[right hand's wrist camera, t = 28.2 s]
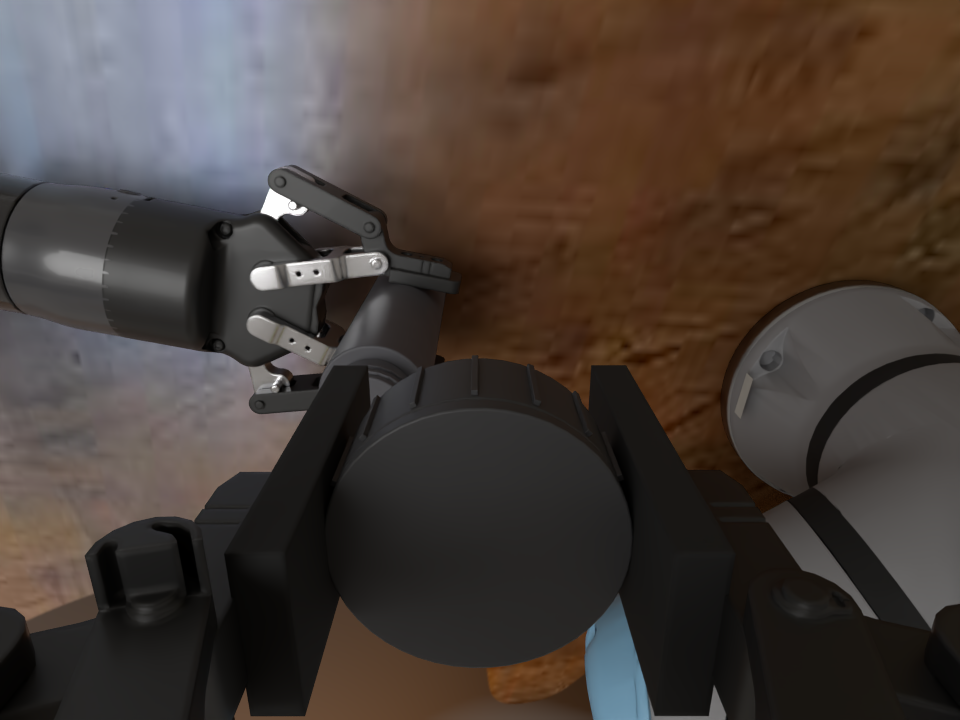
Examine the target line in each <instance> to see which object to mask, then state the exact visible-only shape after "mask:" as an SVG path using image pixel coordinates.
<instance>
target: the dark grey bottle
mask: <svg viewBox="0 0 960 720" xmlns="http://www.w3.org/2000/svg"><path fill="white" fill-rule="evenodd" d="M388 280H389V276H384V275H379V276H378V278H377V280H376V281H375V283H374V285H373V287H372V288H371V290H370V292H369V294H368V295H367V297H366V299H365V300H364V302H363V304H362V306H361V307H360V309H359V311H358V313H357V314H356V316H355V318H354V319H353V321H352V323H351V325H350V326H349V328H348V330H347V332H346V333H345V335H344V337H343V339H342V340H341V342H340V344H339V345H338V347H337V349H336V351H335V352H334V354H333V356H332V358H331V359H330V361H329V363H328V364H327V366H326V368H325V370H324V372H323V374H322V376H321V379H320V383H319V390H320V388H321V386H322V384H323V383H324V381H325V379H326V378H327V376H328V374H329V372H330V371H331V369H332V367H333V366H334V365H368V371H369V386H370V402H371V404H372V402H373V399H374V398H375V397H376V396H377V395H378V396H379V397H381V396H382V395H383V394H384V393H385V392H386V391H388V390H389V389H390V388H392V387H393V386H394V385H395V384H397V383H398V382H400V381H401V380H403V379H405V378H406V377H408V376H410V375H412V374H413V373H416V371H417V368H419V367H421V366H423V368H424V369H425V368H428V367H430V366H433V365H434V364H435V357H436V351H437V345H438V339H439V333H440V326H441V320H442V314H443V308H444V302H445V295H446V293H444V292H438V291H433V290H428V289H423V288H418V287H412V286H408V285H403V284H397V283H392V282H388Z"/></svg>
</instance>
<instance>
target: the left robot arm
mask: <svg viewBox="0 0 960 720" xmlns="http://www.w3.org/2000/svg"><path fill="white" fill-rule="evenodd" d="M268 184H269V187H270V190H269V193H268V195H267V198H266V200H265V203H264V205H263V207H262V210H260V211H257V212H254V213H251V214H245V215H238V214H233V213H228V212H223V211H217V210H212V209H207V208H202V207H197V206H192V205H187V204H182V203H177V202H172V201H167V200H162V199H157V198H152V197H147V196H143V195H141V194H140V193H136V192H131V191H126V190H111V189H105V188H99V187H93V186H80V185H64V184H56V183H49V182H44V181H39V180H34V179H29V178H24V177H19V176H14V175H9V174H4V173H0V310H5V311H11V312H16V313H22V314H27V315H31V316H35V317H40V318H43V319H47V320H50V321H53V322H56V323H59V324H62V325H65V326H69V327H72V328H77V329H81V330H87V331H92V332H98V333H104V334H109V335H115V336H121V337H125V338H131V339H136V340H142V341H148V342H154V343H159V344H164V345H170V346H175V347H181V348H186V349H192V350H197V351H204V352H217V353H223V354H226V355H228V356H230V357H232V358H234V359H235V360H237V361H238V362H239V363H241V364H243V365H245V366H248V367H249V371H250V375H251V380H252V384H253V388H254V394H253V396H252V397H251V398H250V400H249V406H250V408H251V410H252V411H253V412H255V413H257V414H269V413H281V412H293V411H305V410H308V409H309V407H310V405H311V403H312V402H313V400H314V398H315V397H316V395H317V393H318V391H319V383H320V379H321V376H322V374H323V373H320V374H308V375H296V376H293V375H292V373H291V372H290V371H289V370H287V369H284V368H277V367H275V366H274V365H272V364H271V361H273V360H275V359H278V358H280V357H282V356H284V355H286V354H289V353H291V352H293V353H295V354H297V355H299V356H301V357H303V358H305V359H307V360H309V361H311V362H313V363H316V364H318V365H321V366H327V364H328V363H329V361H330V359H331V358H332V356H333V354H334V352H335V351H336V349H337V347H338V345H339V344H340V342H341V340H342V339H343V337H344V335H345V333H346V332H345V330H344V329H343V328H342V327H340V326H339V325H337V324H335V323H333V322H331V321H329V320H327V319H326V305H325V299H324V297H325V294H326V292H327V290H328V287H329V285H330V283H331V282H338V281H342V280H344V279H349V278H358V277H368V276H377V275H384V276H389V280H388V282H392V283H397V284H403V285H408V286H412V287H418V288H423V289H428V290H433V291H438V292H444V293H449V294H458V293H459V288H460V283H461V274H460V273H458V272H454V271H451V269H452V263H451V262H449V261H447V260H446V259H444V258H440V257H435V256H430V255H425V254H420V253H415V252H409V251H404V250H400V249H397V248H396V247H394V246H393V245H392V244H391V242H390V240H389V236H388V231H387V226H386V224H387V216H386V214H385V213H384V212H383V211H382V210H380V209H379V208H377V207H375V206H373V205H371V204H369V203H367V202H365V201H363V200H361V199H359V198H357V197H355V196H354V195H352V194H350V193H348V192H346V191H344V190H342V189H340V188H338V187H336V186H334V185H332V184H330V183H329V182H327V181H325V180H323V179H321V178H319V177H317V176H315V175H313V174H311V173H309V172H307V171H305V170H304V169H302V168H300V167H298V166H295V165H289V166H284V167H280V168H278V169H275V170H273V171H272V172H271V173H270V174H269V176H268ZM309 210H310V211H312V212H314V213H316V214H318V215H320V216H322V217H324V218H326V219H328V220H330V221H332V222H334V223H336V224H338V225H340V226H342V227H344V228H346V229H348V230H350V231H352V232H354V233H356V234H358V235H360V237H361V241H362V245H360V246H335V247H326V248H317V249H314V248H313V247H312V246H311V245H310V244H309V243H308V242H307V241H306V240H305V239H304V238H303V237H302V236H301V235H300V234H299V233H298V232H297V231H295V230H294V229H293V228H292V227H291V226H290V225H289V224H288V223H287V222H286V221H285V220H284V219H283V218H282V217H283V215H284V214H292V215H295V216H300V215H303V214H304V213H306V212H308V211H309ZM321 329H322V330H321ZM308 346H309V347H308ZM444 361H445V359H444V358H443V357H441V356H439V355H436V357H435V364H434V365H437V364H441V363H444Z"/></svg>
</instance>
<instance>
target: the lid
mask: <svg viewBox="0 0 960 720" xmlns="http://www.w3.org/2000/svg"><path fill="white" fill-rule="evenodd" d="M622 480H624V477H623V475H622V472H621V470H620V467H619V465H618V462H617V460H616V457H615V455H614V452H613V450H612V447H611V445H610V442H609V440H608V437H607V435H606V432H605V431H604V432H602V433H601V432H600V430H599V428H598V426H597V424H596V422H595V421H594V419H593V417H592V416H591V414H590V412H589V411H588V410H587V409H586V408H585V406H584V405H583V404H582V402H581V399H580V396H579V394H578V393H577V392H576V391H574V392H573V393H571V392H570V391H569V390H568V389H567V388H565V387H564V386H563V385H561V384H560V383H558V382H557V381H555V380H554V379H552V378H551V377H549V376H547V375H545V374H543V373H541V372H539V371H537V370H534V366H533V365H530V364H528V365H527V367H526V366H523V365H521V364H516V363H512V362H508V361H503V360H494V359H485V358H484V359H478V355H474V356H472V359H462V360H455V361H448V362H444V363H441V364H437V365H433V366H430V367H428V368H425V369H424V368H423V366H421V367H419V368H417V371H416V373H413V374H412V375H410V376H408V377H406V378H405V379H403V380H401V381H400V382H398V383H397V384H395V385H394V386H393V387H392V388H390V389H389V390H388V391H386V392H385V393H384V394H383V395H382V396H381V397H379V396H378V395H377V396H376V397H375V398H374V399H373V402H372V404H371V407H370V410H369V411H368V412H367V414H366V415H365V417H364V418H363V420H362V422H361V424H360V426H359V427H358V429H357V431H356V434H355V436H354V438H353V437H349V439H348V442H347V444H346V446H345V449H344V451H343V454H342V456H341V459H340V461H339V464H338V466H337V469H336V471H335V474H334V476H333V479H332V481H331V484H330V485H331V486H334V487H335V488H334V490H333V493H332V496H331V498H330V501H329V504H328V507H327V511H326V516H325V534H326V545H327V555H328V565H329V573H330V577H331V579H332V581H333V583H334V585H335V588H336V590H337V592H338V594H339V595H340V597H341V598H342V600H343V601H344V603H345V605H346V606H347V607H348V609H349V610H350V611H351V612H352V613H353V614H354V616H355V617H356V618H357V619H358V620H359V621H360V622H361V623H362V624H363V625H364V626H365V627H367V628H368V629H369V630H370V631H371V632H372V633H374V634H375V635H376V636H378V637H379V638H381V639H382V640H383V641H385V642H387V643H388V644H390V645H392V646H394V647H396V648H397V649H399V650H401V651H403V652H406V653H408V654H411V655H413V656H415V657H418V658H421V659H424V660H428V661H431V662H434V663H439V664H445V665H450V666H457V667H469V668H488V667H499V666H507V665H513V664H517V663H521V662H526V661H529V660H532V659H535V658H538V657H541V656H544V655H546V654H549V653H551V652H553V651H555V650H557V649H559V648H561V647H563V646H565V645H566V644H568V643H570V642H571V641H573V640H575V639H576V638H578V637H579V636H580V635H581V634H583V633H584V632H585V631H587V630H588V629H589V628H590V627H591V626H592V625H593V624H594V623H595V622H596V621H597V620H598V619H599V618H600V617H601V616H602V615H603V614H604V613H605V612H606V610H607V609H608V608H609V606H610V605H611V604H612V602H613V601H614V599H615V597H616V596H617V594H618V592H619V590H620V589H621V587H622V584H623V582H624V579H625V577H626V574H627V572H628V568H629V564H630V560H631V555H632V544H633V529H632V518H631V514H630V510H629V506H628V502H627V500H626V497H625V494H624V492H623V489H622V487H621V484H620V481H622Z"/></svg>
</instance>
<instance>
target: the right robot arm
mask: <svg viewBox="0 0 960 720" xmlns="http://www.w3.org/2000/svg"><path fill="white" fill-rule="evenodd" d="M370 407H371V402H370V386H369V371H368V365H334V366H333V367H332V369H331V371H330V372H329V374H328V376H327V378H326V379H325V381H324V383H323V384H322V386H321V388H320V390H319V391H318V393H317V395H316V397H315V398H314V400H313V402H312V403H311V405H310V407H309V409H308V410H307V412H306V414H305V415H304V417H303V419H302V421H301V422H300V424H299V426H298V427H297V429H296V431H295V433H294V434H293V436H292V438H291V439H290V441H289V443H288V445H287V446H286V448H285V450H284V451H283V453H282V455H281V457H280V458H279V460H278V462H277V463H276V465H275V467H274V469H273V470H272V472H240V473H238V474H237V475H235V476H234V477H232V478H231V479H229V480H228V481H226V482H225V483H224V484H222V485H221V486H219V487H218V488H217V489H216V491H215V492H214V493H213V495H212V496H211V498H210V499H209V501H208V502H207V503H206V505H205V509H202V511H201V512H200V513H199V515H198V516H197V518H196V519H195V520H194V522H193V521H192V520H188V519H184V518H180V517H154V518H150V519H145V520H141V521H136V522H133V523H130V524H128V525H126V526H123V527H121V528H118V529H116V530H114V531H112V532H110V533H109V534H107V535H106V536H104V537H103V538H101V539H100V540H98V541H97V542H96V543H95V544H94V545H93V546H92V547H91V549H90V550H89V551H88V552H87V554H86V555H85V559H86V563H87V567H88V571H89V574H90V578H91V582H92V586H93V590H94V594H95V598H96V602H97V606H98V610H99V612H98V614H97V616H96V618H95V619H91V620H88V621H84V622H81V623H77V624H72V625H68V626H63V627H59V628H54V629H50V630H45V631H40V632H36V633H32V634H30V633H29V630H28V627H27V624H26V620H25V617H24V616H23V615H22V614H20V613H19V612H18V611H17V610H15V609H13V608H6V607H0V720H235V718H234V715H235V712H236V710H237V708H238V705H239V703H240V700H241V698H242V695H243V693H244V690H245V688H246V691H247V697H248V703H249V709H250V715H251V716H305V714H306V711H307V707H308V704H309V700H310V697H311V694H312V690H313V687H314V683H315V680H316V676H317V673H318V669H319V666H320V663H321V659H322V656H323V652H324V649H325V645H326V642H327V638H328V635H329V631H330V628H331V625H332V621H333V618H334V614H335V611H336V607H337V604H338V601H339V597H340V595H339V594H338V592H337V590H336V588H335V585H334V583H333V581H332V579H331V577H330V573H329V565H328V555H327V545H326V534H325V516H326V511H327V507H328V504H329V501H330V498H331V496H332V493H333V490H334V488H335V487H334V486H331V485H330V484H331V481H332V479H333V476H334V474H335V471H336V469H337V466H338V464H339V461H340V459H341V456H342V454H343V451H344V449H345V446H346V444H347V442H348V439H349V437H353V438H354V436H355V434H356V431H357V429H358V427H359V426H360V424H361V422H362V420H363V418H364V417H365V415H366V414H367V412H368V411H369V410H370ZM589 412H590V414H591V416H592V417H593V419H594V421H595V422H596V424H597V426H598V428H599V430H600V432H601V433H602V432H604V431H605V432H606V435H607V437H608V440H609V442H610V445H611V447H612V450H613V452H614V455H615V457H616V460H617V462H618V465H619V467H620V470H621V472H622V475H623V477H624V480H622V481H620V484H621V487H622V489H623V492H624V494H625V497H626V500H627V502H628V506H629V510H630V514H631V518H632V529H633V544H632V555H631V560H630V564H629V568H628V572H627V574H626V577H625V579H624V582H623V584H622V587H621V589H620V590H619V593H618V594H617V596H616V597H615V599H614V601H613V602H612V604H611V605H610V606H609V608H608V609H607V610H606V612H605V613H604V614H603V615H602V616H601V617H600V618H599V619H598V620H597V621H596V622H595V623H594V624H593V625H592V626H591V627H590V628H589V629H588V631H587V635H586V654H585V672H586V681H587V688H588V695H589V700H590V705H591V710H592V715H593V718H594V720H960V334H959V332H958V331H957V330H956V328H955V327H954V326H953V325H952V323H951V322H950V321H949V320H948V319H947V318H946V317H945V316H944V315H943V314H942V313H941V312H940V311H938V310H937V309H936V308H935V307H934V306H933V305H931V304H930V303H928V302H927V301H925V300H923V299H921V298H920V297H918V296H916V295H913V294H911V293H909V292H906V291H904V290H902V289H899V288H897V287H894V286H891V285H888V284H884V283H880V282H874V281H864V280H850V281H840V282H833V283H829V284H825V285H821V286H817V287H814V288H811V289H809V290H806V291H804V292H802V293H799V294H797V295H795V296H793V297H791V298H790V299H788V300H786V301H784V302H783V303H781V304H780V305H778V306H777V307H775V308H774V309H773V310H771V311H770V312H769V313H768V314H766V315H765V316H764V317H763V318H762V319H761V320H760V321H759V322H758V323H757V324H756V325H755V326H754V327H753V328H752V329H751V330H750V331H749V332H748V334H747V335H746V336H745V338H744V339H743V340H742V342H741V343H740V345H739V346H738V348H737V349H736V351H735V353H734V355H733V357H732V359H731V361H730V363H729V365H728V368H727V370H726V374H725V377H724V380H723V385H722V391H721V415H722V421H723V425H724V429H725V432H726V434H727V437H728V439H729V441H730V443H731V445H732V447H733V448H734V449H735V451H736V452H737V454H738V455H739V456H740V458H741V459H742V460H743V462H744V463H745V464H746V465H747V467H748V468H749V469H750V470H751V471H752V472H753V473H754V474H755V475H756V476H757V477H759V478H760V479H761V480H763V481H764V482H765V483H767V484H768V485H770V486H771V487H773V488H775V489H777V490H779V491H781V492H783V493H785V494H787V495H790V496H792V497H793V498H791V499H789V500H787V501H785V502H783V503H781V504H779V505H778V506H776V507H774V508H772V509H770V510H769V511H767V512H765V513H763V514H762V513H761V511H760V510H759V508H758V507H755V503H754V501H753V500H752V498H751V497H750V496H749V494H748V493H747V491H746V490H745V489H744V487H743V486H742V485H741V484H739V483H738V482H737V481H735V480H734V479H732V478H731V477H729V476H728V475H726V474H725V473H723V472H722V471H720V470H687V469H686V468H685V466H684V464H683V462H682V461H681V459H680V457H679V456H678V454H677V452H676V450H675V449H674V447H673V445H672V444H671V442H670V440H669V438H668V437H667V435H666V433H665V432H664V430H663V428H662V426H661V425H660V423H659V421H658V420H657V418H656V416H655V414H654V413H653V411H652V409H651V408H650V406H649V404H648V402H647V401H646V399H645V397H644V396H643V394H642V392H641V390H640V389H639V387H638V385H637V383H636V382H635V380H634V378H633V377H632V375H631V373H630V371H629V370H628V368H627V366H626V365H591V380H590V396H589Z"/></svg>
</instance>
